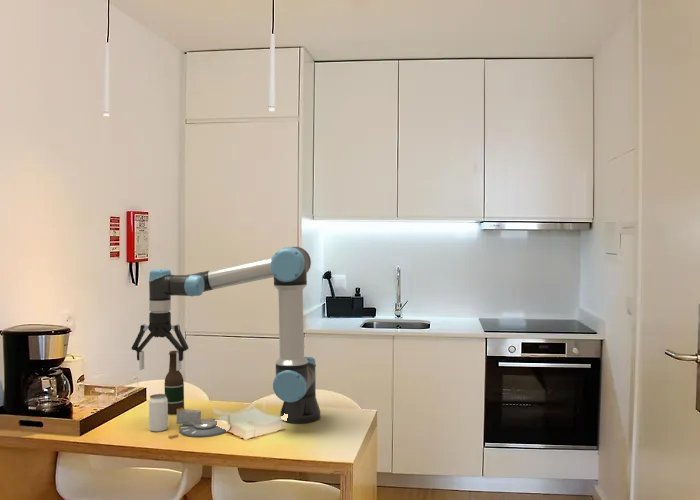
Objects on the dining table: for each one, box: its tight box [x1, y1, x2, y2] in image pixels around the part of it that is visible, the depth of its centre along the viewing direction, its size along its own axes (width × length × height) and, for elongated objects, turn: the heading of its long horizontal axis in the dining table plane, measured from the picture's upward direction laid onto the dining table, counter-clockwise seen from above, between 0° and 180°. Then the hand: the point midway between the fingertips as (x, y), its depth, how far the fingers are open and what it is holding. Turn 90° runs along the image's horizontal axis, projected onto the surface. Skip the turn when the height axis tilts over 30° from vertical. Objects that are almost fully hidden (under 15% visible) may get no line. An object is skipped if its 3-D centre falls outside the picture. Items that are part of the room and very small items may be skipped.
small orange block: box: [168, 433, 179, 440], centre depth 214 cm, size 3×1×1 cm, turn 134°
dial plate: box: [178, 418, 227, 438], centre depth 223 cm, size 18×18×1 cm
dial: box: [176, 407, 217, 429], centre depth 224 cm, size 15×8×5 cm, turn 71°
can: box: [148, 393, 169, 433], centre depth 223 cm, size 6×6×12 cm
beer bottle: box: [164, 350, 185, 416], centre depth 244 cm, size 8×8×24 cm
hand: (160, 369), depth 228 cm, fingers open, 13 cm apart
